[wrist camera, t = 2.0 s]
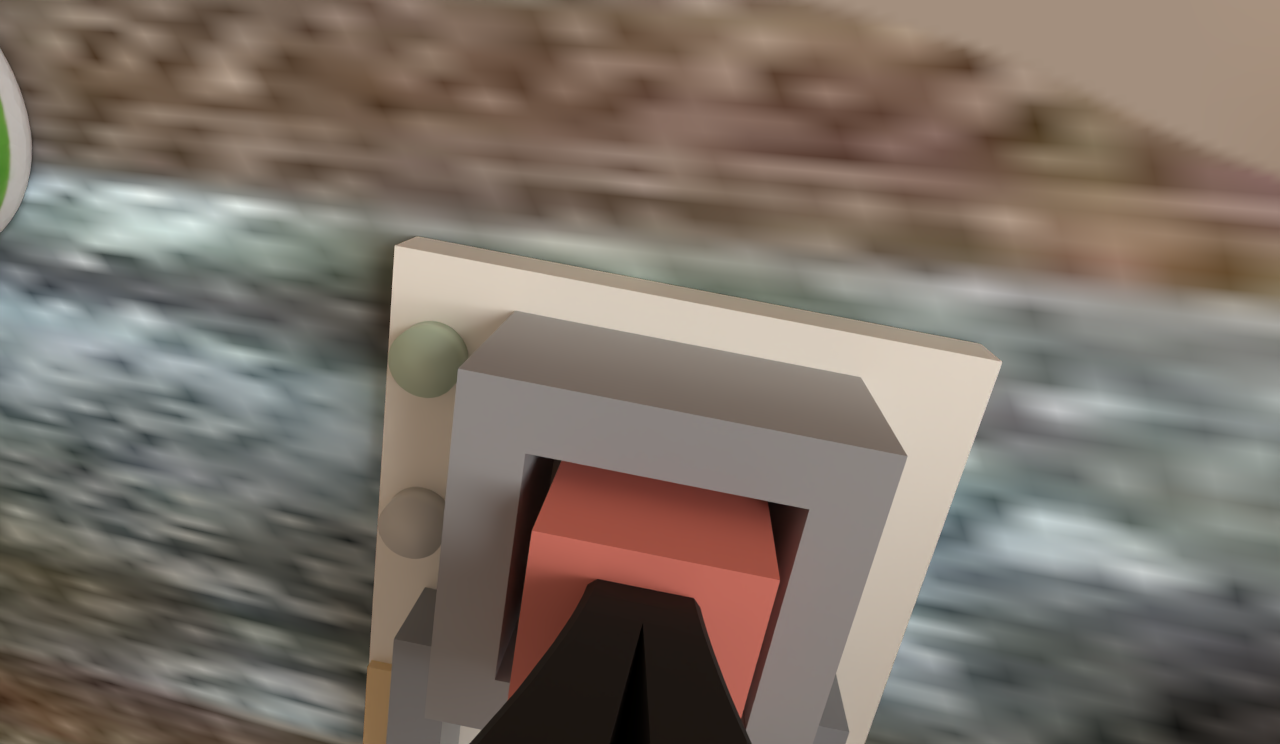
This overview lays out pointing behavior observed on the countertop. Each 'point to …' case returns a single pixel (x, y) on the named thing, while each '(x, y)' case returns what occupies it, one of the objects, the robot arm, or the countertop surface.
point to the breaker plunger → (650, 561)
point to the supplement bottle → (12, 144)
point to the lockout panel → (652, 471)
